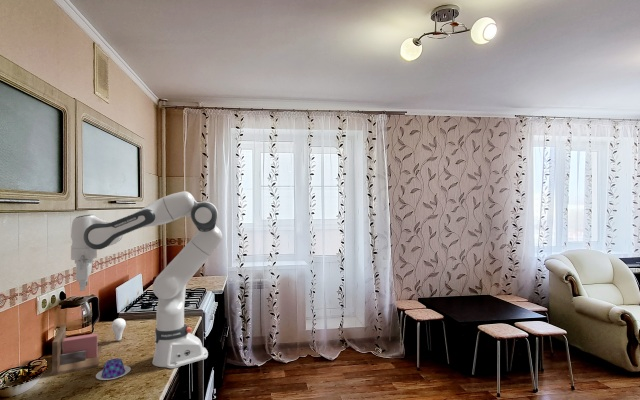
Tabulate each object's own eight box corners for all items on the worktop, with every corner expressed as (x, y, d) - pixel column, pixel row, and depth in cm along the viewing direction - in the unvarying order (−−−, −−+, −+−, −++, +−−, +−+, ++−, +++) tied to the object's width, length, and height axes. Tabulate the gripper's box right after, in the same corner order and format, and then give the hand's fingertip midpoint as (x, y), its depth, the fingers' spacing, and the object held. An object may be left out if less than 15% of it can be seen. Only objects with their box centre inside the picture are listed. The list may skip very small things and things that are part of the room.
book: (97, 353, 156) (97, 333, 157) (96, 356, 153) (96, 336, 153) (64, 359, 151) (64, 338, 151) (62, 362, 147) (63, 341, 147)
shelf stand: (101, 348, 165) (101, 320, 165) (98, 366, 146) (98, 335, 146) (59, 355, 157) (59, 326, 157) (50, 376, 138) (50, 342, 138)
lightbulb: (109, 343, 170) (109, 321, 170) (113, 339, 176) (113, 317, 176) (123, 342, 171) (123, 319, 172) (127, 338, 177) (127, 316, 177)
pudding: (92, 384, 132) (92, 370, 132) (99, 370, 143) (99, 357, 143) (128, 378, 136) (128, 364, 136) (132, 365, 147) (132, 352, 148)
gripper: (91, 257, 136) (90, 292, 136) (95, 251, 154) (94, 282, 154) (71, 258, 133) (71, 294, 133) (77, 252, 151) (77, 284, 151)
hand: (83, 288), depth 144 cm, fingers open, 8 cm apart
